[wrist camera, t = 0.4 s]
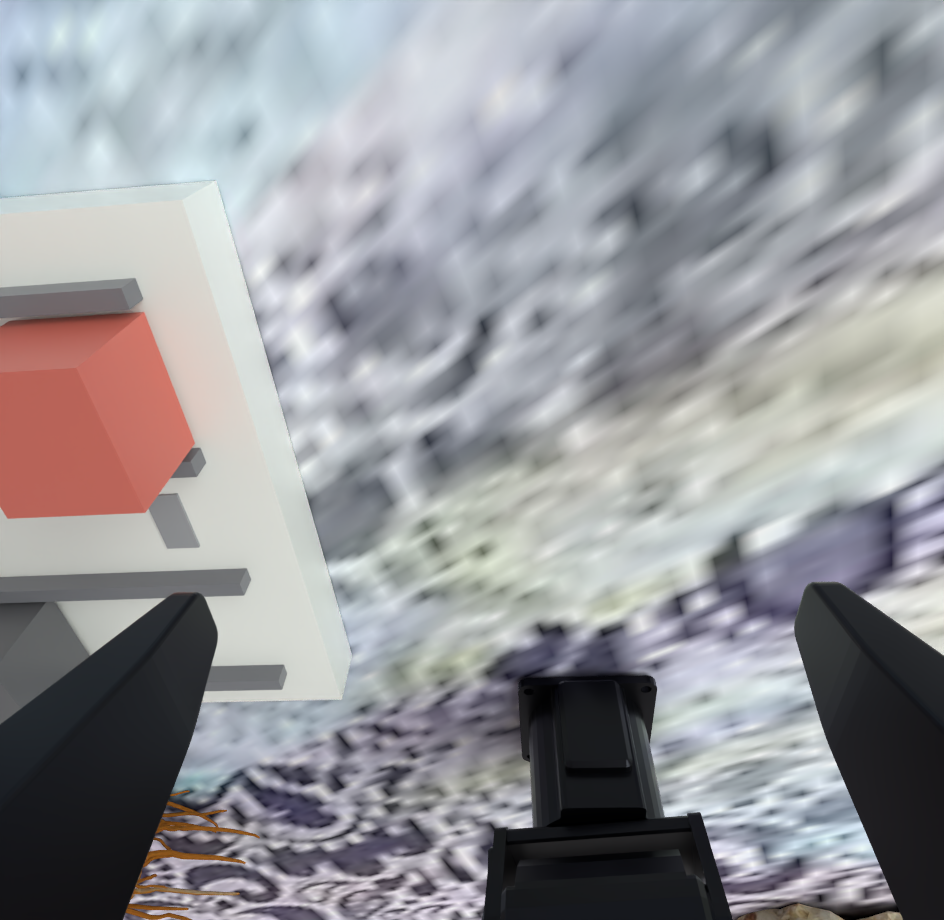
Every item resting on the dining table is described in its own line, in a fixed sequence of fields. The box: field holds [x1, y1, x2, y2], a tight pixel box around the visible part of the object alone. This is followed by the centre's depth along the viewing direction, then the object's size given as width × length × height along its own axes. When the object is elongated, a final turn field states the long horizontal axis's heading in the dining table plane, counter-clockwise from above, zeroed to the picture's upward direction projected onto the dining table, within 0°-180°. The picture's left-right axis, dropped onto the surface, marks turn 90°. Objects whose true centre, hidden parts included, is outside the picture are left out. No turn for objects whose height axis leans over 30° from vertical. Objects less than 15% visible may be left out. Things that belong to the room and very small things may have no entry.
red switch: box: [0, 312, 195, 519], centre depth 18 cm, size 4×4×4 cm
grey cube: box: [0, 602, 90, 724], centre depth 25 cm, size 4×4×4 cm
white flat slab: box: [0, 181, 352, 702], centre depth 22 cm, size 26×16×3 cm, turn 5°
